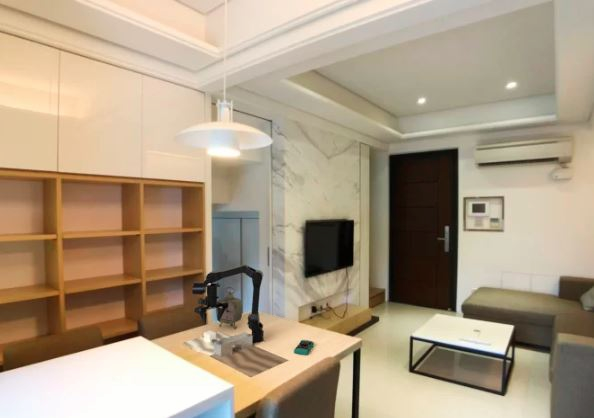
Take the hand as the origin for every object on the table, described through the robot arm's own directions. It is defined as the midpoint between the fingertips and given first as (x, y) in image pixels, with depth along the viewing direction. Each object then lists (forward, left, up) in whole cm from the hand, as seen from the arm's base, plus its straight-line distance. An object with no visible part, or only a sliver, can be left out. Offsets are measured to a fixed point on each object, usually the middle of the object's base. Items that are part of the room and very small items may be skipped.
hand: (211, 322), depth 194 cm
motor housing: (0, +20, -11) cm, 23 cm away
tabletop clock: (-23, -14, -11) cm, 29 cm away
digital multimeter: (-29, +43, -12) cm, 53 cm away
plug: (0, +5, -10) cm, 11 cm away
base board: (0, +20, -11) cm, 23 cm away
